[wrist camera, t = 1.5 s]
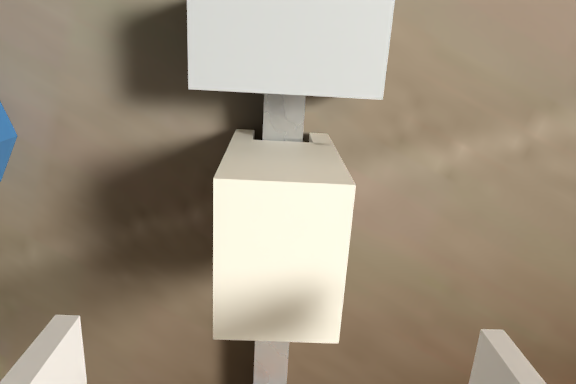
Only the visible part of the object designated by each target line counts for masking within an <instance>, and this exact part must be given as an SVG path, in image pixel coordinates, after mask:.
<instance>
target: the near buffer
mask: <svg viewBox="0 0 576 384" xmlns="http://www.w3.org/2000/svg"><path fill="white" fill-rule="evenodd" d="M394 3H395V0H187V41H188V89H192V90H211V91H230V92H248V93H267V94H286V95H304V96H323V97H342V98H360V99H379V100H383V93H384V85H385V77H386V69H387V61H388V52H389V44H390V36H391V28H392V20H393V11H394Z"/></svg>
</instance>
